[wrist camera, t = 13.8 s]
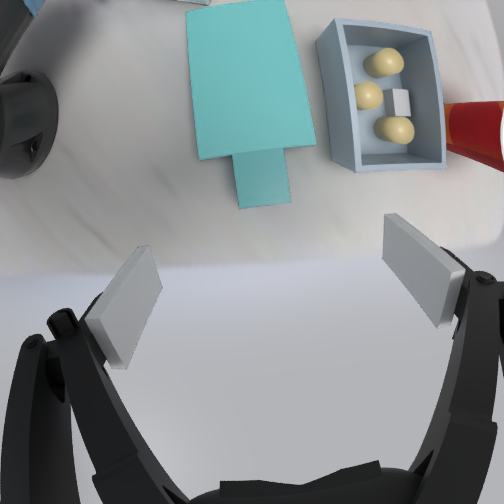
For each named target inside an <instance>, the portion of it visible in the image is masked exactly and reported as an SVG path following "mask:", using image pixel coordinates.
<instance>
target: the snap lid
mask: <svg viewBox="0 0 504 504" xmlns="http://www.w3.org/2000/svg"><path fill="white" fill-rule="evenodd" d="M186 25H187V40H188V54H189V67H190V79H191V90H192V100H193V110H194V120H195V129H196V138H197V147H198V156H199V160H201V161H202V160H207V159H213V158H219V157H225V156H232V159H233V167H234V174H235V181H236V189H237V196H238V204H239V209H242V208H250V207H257V206H265V205H273V204H281V203H290V202H291V198H290V190H289V183H288V176H287V168H286V162H285V155H284V149H286V148H296V147H307V146H315V145H316V139H315V133H314V128H313V122H312V117H311V111H310V106H309V101H308V96H307V91H306V86H305V82H304V77H303V72H302V68H301V64H300V59H299V55H298V51H297V47H296V43H295V39H294V35H293V31H292V27H291V24H290V20H289V16H288V13H287V9H286V6H285V2H284V0H255V1H246V2H238V3H230V4H224V5H218V6H212V7H207V8H202V9H197V10H192V11H188V12H186Z"/></svg>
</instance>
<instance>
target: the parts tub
mask: <svg viewBox="0 0 504 504" xmlns="http://www.w3.org/2000/svg"><path fill="white" fill-rule="evenodd" d="M316 47H317V52H318V58H319V64H320V70H321V76H322V82H323V89H324V96H325V103H326V111H327V119H328V128H329V137H330V147H331V158H332V161H333V162H335V163H337V164H339V165H341V166H343V167H345V168H347V169H349V170H351V171H353V172H355V173H361V172H376V171H395V170H422V169H446V132H445V116H444V105H443V96H442V88H441V80H440V74H439V67H438V62H437V56H436V51H435V46H434V42H433V37H432V33H431V32H430V31H426V30H422V29H417V28H412V27H407V26H401V25H395V24H389V23H382V22H374V21H364V20H353V19H337V18H335V19H334V20H333V21H332V22H331V23H330V24H329V26H328V27H327V28H326V29H325V31H324V32H323V33H322V34H321V35H320V37H319V38H318V39H317V40H316Z"/></svg>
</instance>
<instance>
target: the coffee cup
mask: <svg viewBox="0 0 504 504" xmlns="http://www.w3.org/2000/svg"><path fill="white" fill-rule="evenodd" d="M444 116H445V132H446V149H447V150H449V151H452V152H454V153H457V154H460V155H462V156H465V157H468V158H470V159H473V160H475V161H478V162H480V163H483V164H485V165H488V166H490V167H492V168H495V169H497V170H499V171H502V172H504V101H489V102H468V103H456V104H447V105H444Z"/></svg>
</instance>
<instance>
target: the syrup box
mask: <svg viewBox="0 0 504 504" xmlns="http://www.w3.org/2000/svg"><path fill="white" fill-rule="evenodd" d="M177 1H184V2H191V3H198V4H203V5H209V3H210V1H211V0H177Z"/></svg>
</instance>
